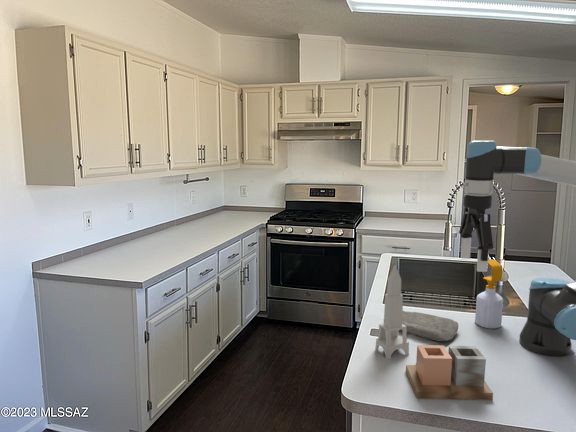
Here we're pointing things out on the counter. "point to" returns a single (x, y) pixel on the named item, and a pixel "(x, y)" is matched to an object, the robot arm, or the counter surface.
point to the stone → (429, 326)
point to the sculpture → (393, 318)
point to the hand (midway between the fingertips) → (473, 264)
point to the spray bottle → (490, 300)
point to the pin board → (446, 389)
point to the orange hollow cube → (433, 365)
